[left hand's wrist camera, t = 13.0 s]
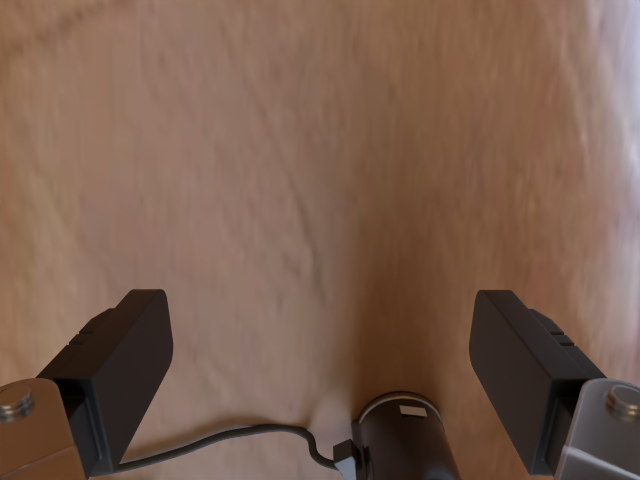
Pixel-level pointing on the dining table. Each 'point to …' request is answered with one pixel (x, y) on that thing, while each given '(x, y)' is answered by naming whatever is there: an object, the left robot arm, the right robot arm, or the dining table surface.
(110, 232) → the dining table surface
